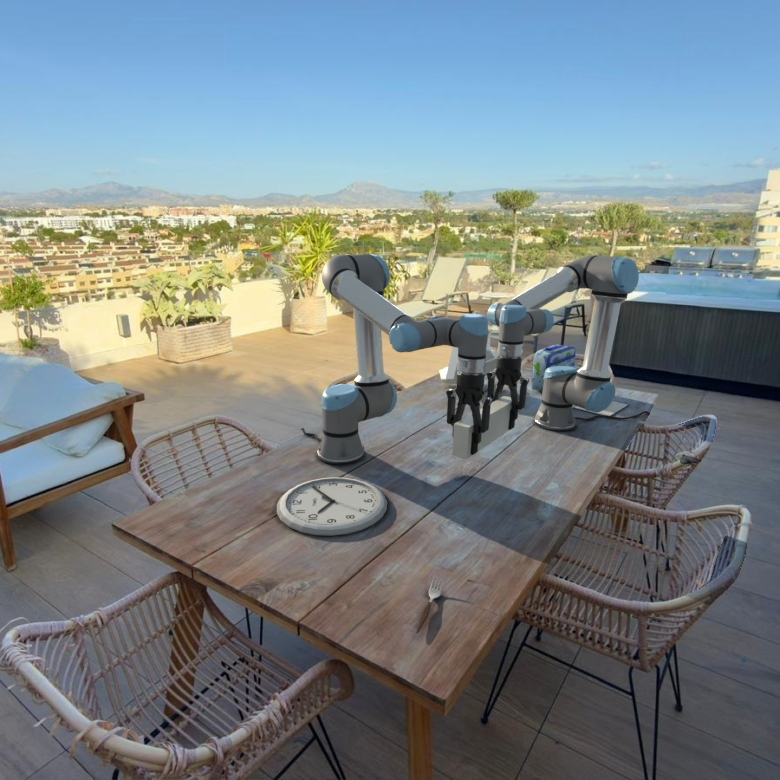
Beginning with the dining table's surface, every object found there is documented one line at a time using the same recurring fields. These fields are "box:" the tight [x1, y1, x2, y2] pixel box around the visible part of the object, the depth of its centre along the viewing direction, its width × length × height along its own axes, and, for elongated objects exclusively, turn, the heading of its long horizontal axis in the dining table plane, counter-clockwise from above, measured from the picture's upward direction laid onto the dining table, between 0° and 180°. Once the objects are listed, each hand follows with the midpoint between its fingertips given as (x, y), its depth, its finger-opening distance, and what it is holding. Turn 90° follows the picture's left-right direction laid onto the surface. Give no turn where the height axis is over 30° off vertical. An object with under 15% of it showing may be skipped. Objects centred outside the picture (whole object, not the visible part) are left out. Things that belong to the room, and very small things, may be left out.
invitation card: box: [573, 400, 629, 416], centre depth 226 cm, size 21×1×15 cm
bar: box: [451, 395, 516, 460], centre depth 157 cm, size 32×5×10 cm, turn 143°
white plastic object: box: [438, 326, 531, 397], centre depth 245 cm, size 37×45×31 cm
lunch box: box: [530, 344, 577, 392], centre depth 247 cm, size 26×11×21 cm, turn 134°
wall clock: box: [276, 476, 388, 537], centre depth 142 cm, size 30×2×30 cm
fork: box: [416, 574, 445, 635], centre depth 104 cm, size 3×16×2 cm, turn 160°
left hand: (465, 450), depth 149 cm, fingers closed on bar, 5 cm apart
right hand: (503, 426), depth 168 cm, fingers closed on bar, 5 cm apart
